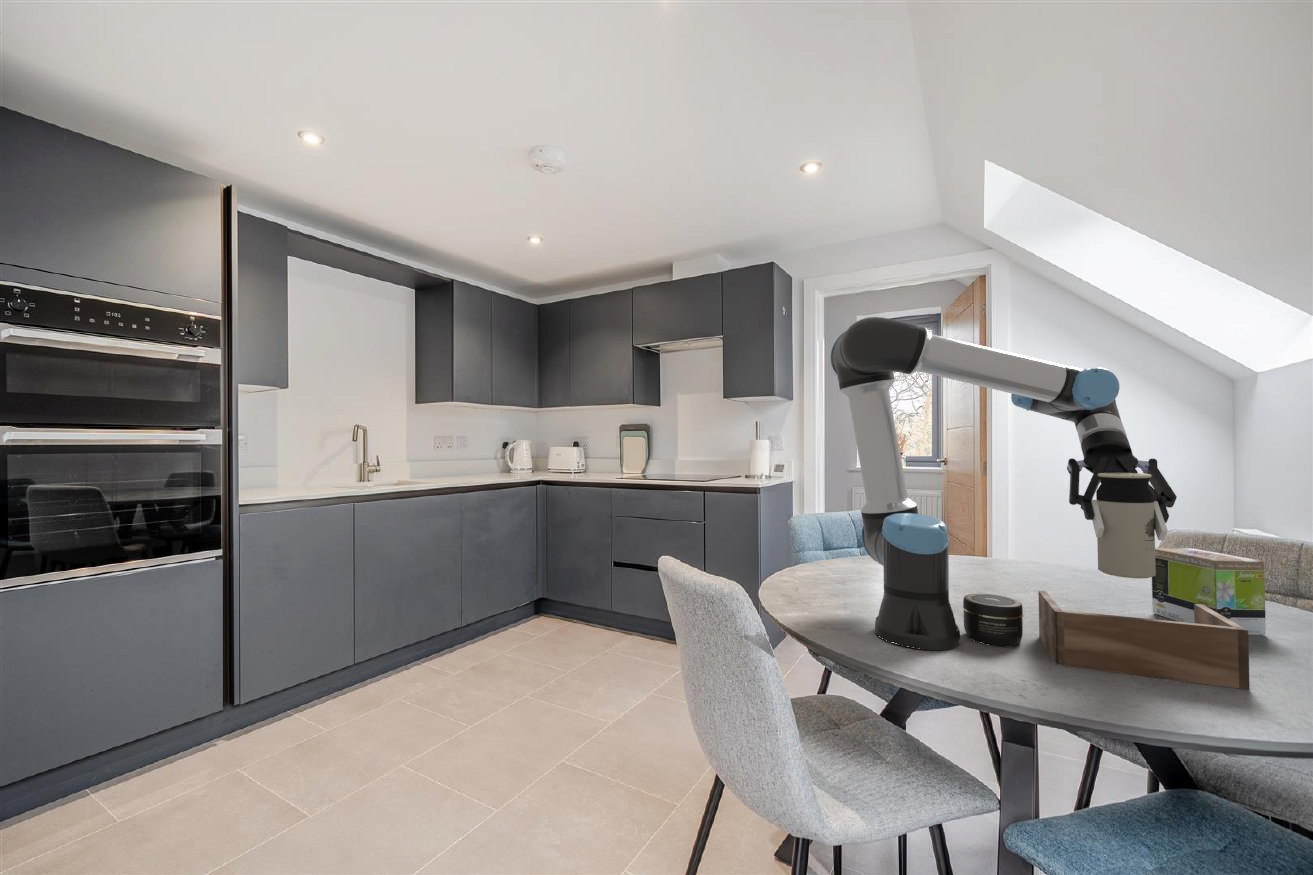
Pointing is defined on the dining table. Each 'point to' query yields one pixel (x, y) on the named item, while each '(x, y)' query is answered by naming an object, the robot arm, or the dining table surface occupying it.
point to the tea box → (1209, 586)
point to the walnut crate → (1148, 645)
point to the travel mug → (1126, 525)
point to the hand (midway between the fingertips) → (1131, 534)
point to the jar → (993, 619)
